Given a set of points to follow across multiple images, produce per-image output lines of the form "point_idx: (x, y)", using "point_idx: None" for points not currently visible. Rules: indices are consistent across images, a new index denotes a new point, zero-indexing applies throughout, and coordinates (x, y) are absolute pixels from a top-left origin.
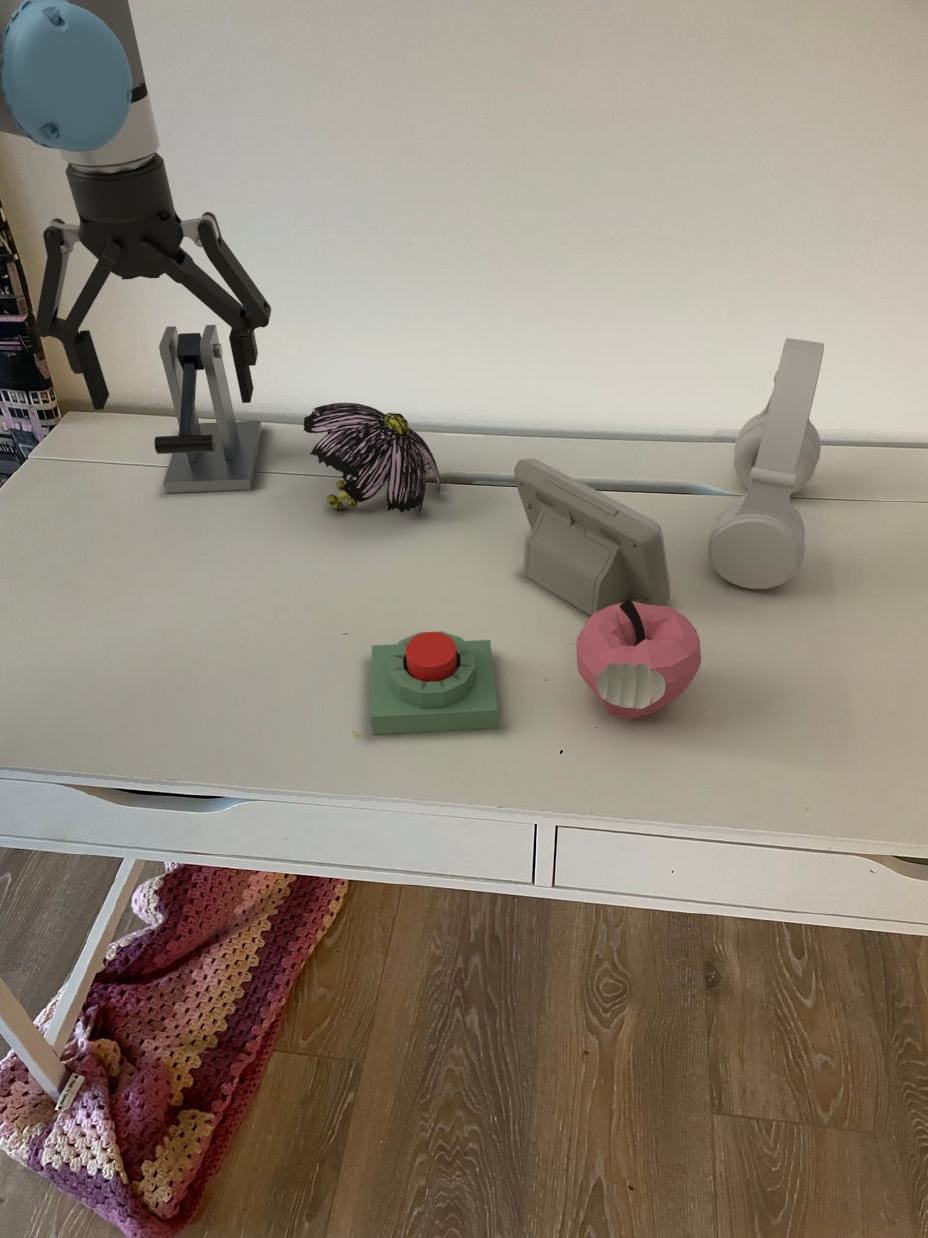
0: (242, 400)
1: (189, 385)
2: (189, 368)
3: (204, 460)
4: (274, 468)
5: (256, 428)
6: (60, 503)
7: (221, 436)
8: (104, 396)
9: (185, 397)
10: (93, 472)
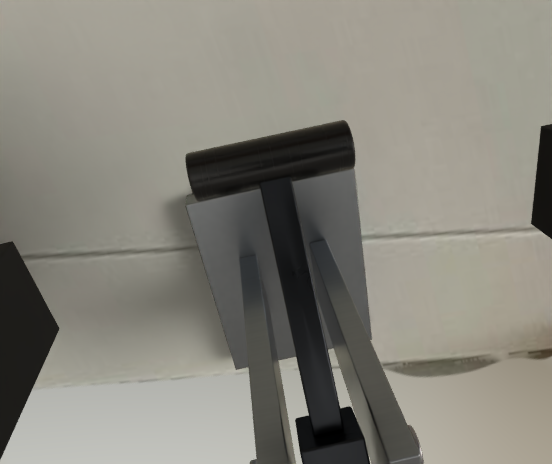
0: (5, 247)
1: (305, 348)
2: (321, 405)
3: None
4: (169, 262)
5: (234, 349)
6: (541, 102)
7: (257, 285)
8: (550, 186)
9: (306, 306)
10: (497, 203)
